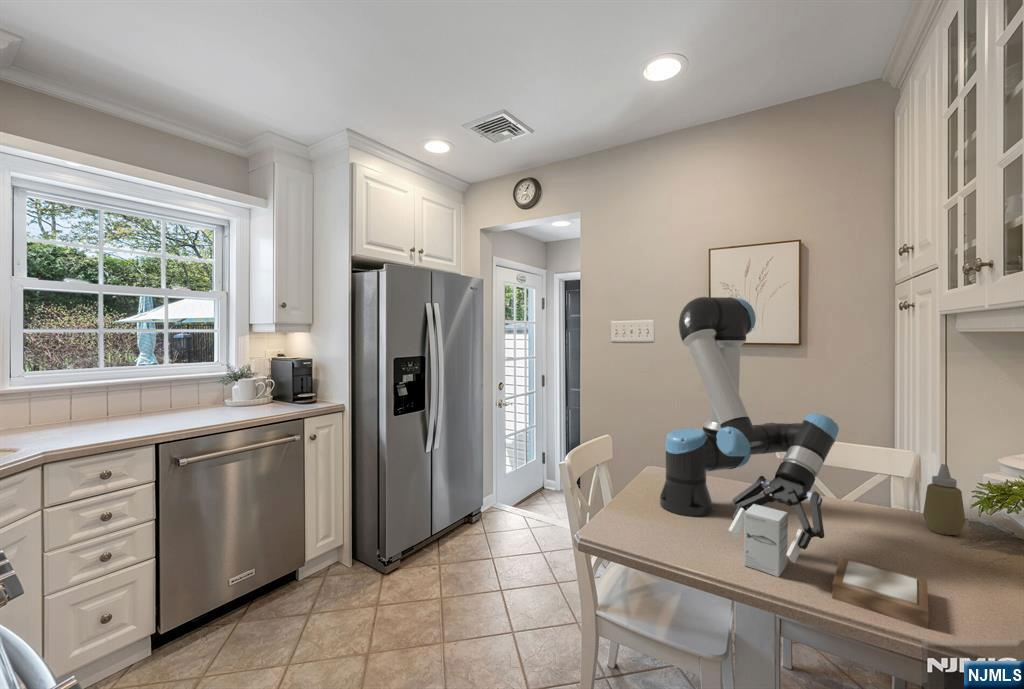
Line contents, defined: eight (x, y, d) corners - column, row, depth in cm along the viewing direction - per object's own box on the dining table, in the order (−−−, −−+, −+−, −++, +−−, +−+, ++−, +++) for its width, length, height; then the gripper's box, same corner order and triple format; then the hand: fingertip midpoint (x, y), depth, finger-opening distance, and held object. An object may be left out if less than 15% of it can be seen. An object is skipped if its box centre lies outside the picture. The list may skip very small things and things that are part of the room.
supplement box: (742, 566, 101) (742, 511, 100) (753, 554, 106) (753, 502, 106) (779, 578, 95) (779, 520, 95) (788, 565, 101) (788, 511, 100)
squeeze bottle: (963, 531, 118) (964, 464, 117) (967, 541, 112) (967, 471, 111) (922, 522, 123) (923, 458, 123) (923, 532, 117) (924, 465, 117)
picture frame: (832, 597, 88) (832, 581, 88) (840, 570, 99) (840, 555, 98) (928, 628, 79) (928, 610, 79) (926, 594, 89) (926, 578, 89)
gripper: (864, 495, 96) (826, 580, 90) (756, 466, 119) (718, 533, 112) (852, 474, 94) (811, 561, 87) (743, 448, 116) (704, 516, 109)
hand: (759, 545), depth 99 cm, fingers open, 13 cm apart
